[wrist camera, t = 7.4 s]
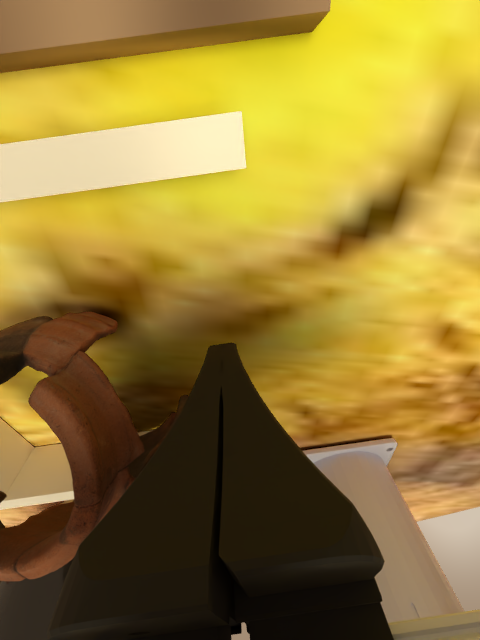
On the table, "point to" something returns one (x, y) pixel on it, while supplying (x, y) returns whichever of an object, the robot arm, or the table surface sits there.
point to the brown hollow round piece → (72, 437)
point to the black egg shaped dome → (30, 604)
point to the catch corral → (87, 174)
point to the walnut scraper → (139, 27)
